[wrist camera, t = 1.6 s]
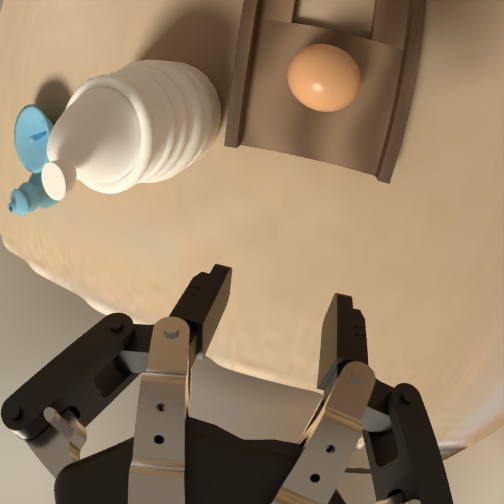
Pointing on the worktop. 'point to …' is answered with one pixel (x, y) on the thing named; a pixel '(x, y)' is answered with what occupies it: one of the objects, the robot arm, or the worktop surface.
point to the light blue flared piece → (31, 160)
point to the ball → (324, 77)
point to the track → (317, 122)
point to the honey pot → (132, 128)
